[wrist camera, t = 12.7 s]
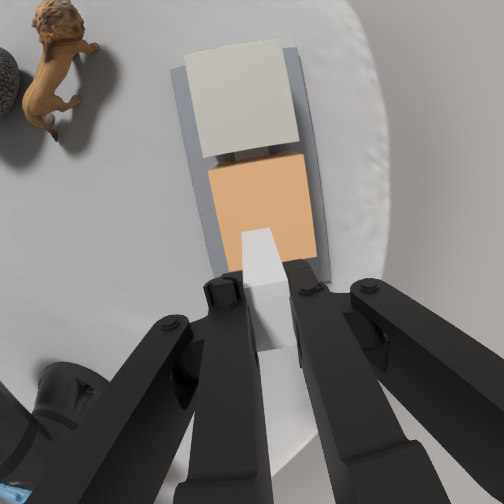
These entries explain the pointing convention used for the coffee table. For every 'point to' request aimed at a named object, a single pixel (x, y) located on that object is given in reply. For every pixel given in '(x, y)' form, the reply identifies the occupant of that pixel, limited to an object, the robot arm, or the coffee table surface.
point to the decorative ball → (8, 81)
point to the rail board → (212, 160)
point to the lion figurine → (54, 60)
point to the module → (264, 204)
